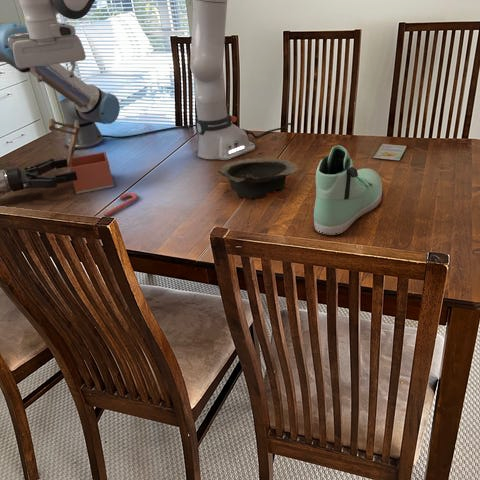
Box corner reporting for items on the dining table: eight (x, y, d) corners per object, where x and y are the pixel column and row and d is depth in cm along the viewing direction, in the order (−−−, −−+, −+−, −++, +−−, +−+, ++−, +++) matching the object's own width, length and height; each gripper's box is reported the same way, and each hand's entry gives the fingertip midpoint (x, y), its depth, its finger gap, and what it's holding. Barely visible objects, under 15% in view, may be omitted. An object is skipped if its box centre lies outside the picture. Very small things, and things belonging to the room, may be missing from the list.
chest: (110, 176, 172) (105, 151, 167) (113, 186, 164) (108, 161, 159) (74, 182, 169) (68, 158, 164) (76, 193, 161) (69, 168, 156)
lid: (78, 119, 159) (50, 112, 155) (79, 128, 151) (50, 120, 147) (69, 157, 164) (42, 150, 160) (70, 167, 156) (42, 160, 152)
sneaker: (389, 187, 148) (396, 123, 138) (356, 242, 123) (361, 168, 112) (346, 181, 154) (350, 119, 144) (306, 232, 129) (307, 161, 118)
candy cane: (93, 214, 147) (92, 209, 146) (129, 194, 157) (128, 190, 156) (106, 218, 144) (105, 214, 143) (142, 198, 154) (141, 194, 153)
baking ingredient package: (373, 156, 168) (382, 143, 180) (373, 158, 168) (382, 144, 180) (399, 159, 165) (407, 145, 176) (399, 160, 165) (406, 146, 176)
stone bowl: (243, 213, 140) (240, 183, 136) (209, 189, 160) (205, 162, 156) (313, 190, 149) (312, 161, 144) (272, 170, 169) (270, 144, 165)
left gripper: (14, 177, 168) (76, 165, 174) (10, 206, 148) (80, 192, 153) (7, 157, 165) (71, 146, 170) (2, 184, 144) (74, 171, 149)
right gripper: (5, 36, 135) (20, 86, 142) (79, 28, 140) (90, 76, 147) (6, 33, 140) (21, 82, 147) (78, 25, 145) (89, 72, 152)
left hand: (75, 168), depth 162 cm, fingers open, 13 cm apart
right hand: (56, 79), depth 147 cm, fingers open, 8 cm apart
